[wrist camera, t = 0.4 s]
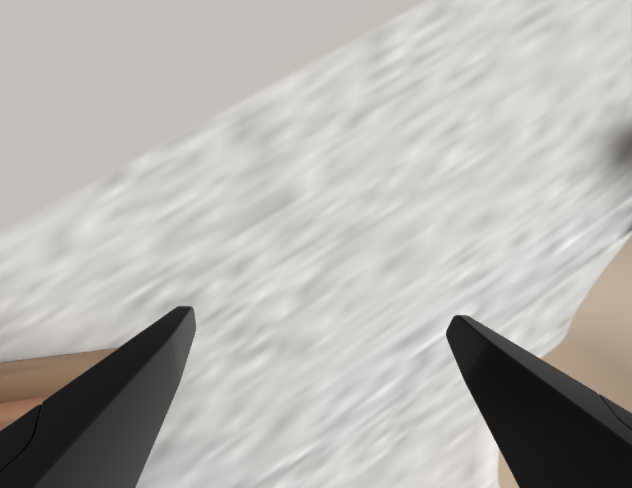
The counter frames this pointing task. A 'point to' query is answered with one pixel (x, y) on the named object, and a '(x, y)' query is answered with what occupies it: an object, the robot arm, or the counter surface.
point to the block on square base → (39, 380)
